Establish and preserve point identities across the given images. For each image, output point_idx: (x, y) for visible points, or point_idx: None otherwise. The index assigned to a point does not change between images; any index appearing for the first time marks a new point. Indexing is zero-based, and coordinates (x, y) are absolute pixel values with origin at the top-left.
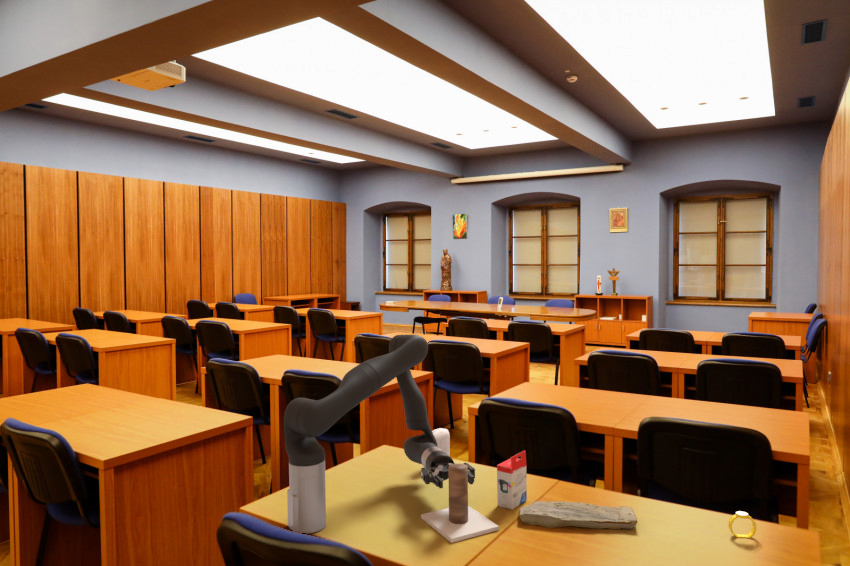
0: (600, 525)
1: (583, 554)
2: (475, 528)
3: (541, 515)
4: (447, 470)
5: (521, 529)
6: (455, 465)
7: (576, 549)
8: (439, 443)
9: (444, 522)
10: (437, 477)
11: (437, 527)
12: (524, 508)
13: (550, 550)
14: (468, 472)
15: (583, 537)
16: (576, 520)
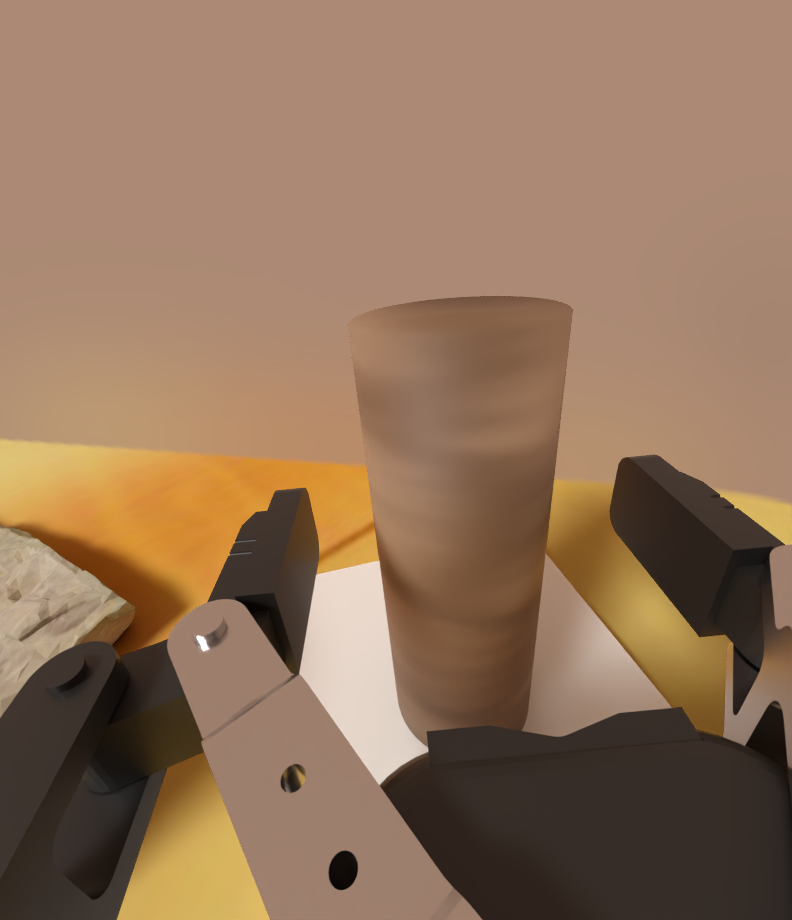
0: None
1: (176, 462)
2: None
3: (68, 561)
4: (598, 756)
5: (192, 586)
6: (478, 322)
7: (166, 477)
8: None
9: (561, 676)
10: (718, 505)
11: (602, 623)
12: (15, 670)
13: (230, 479)
14: (247, 575)
15: (74, 515)
16: (3, 527)
